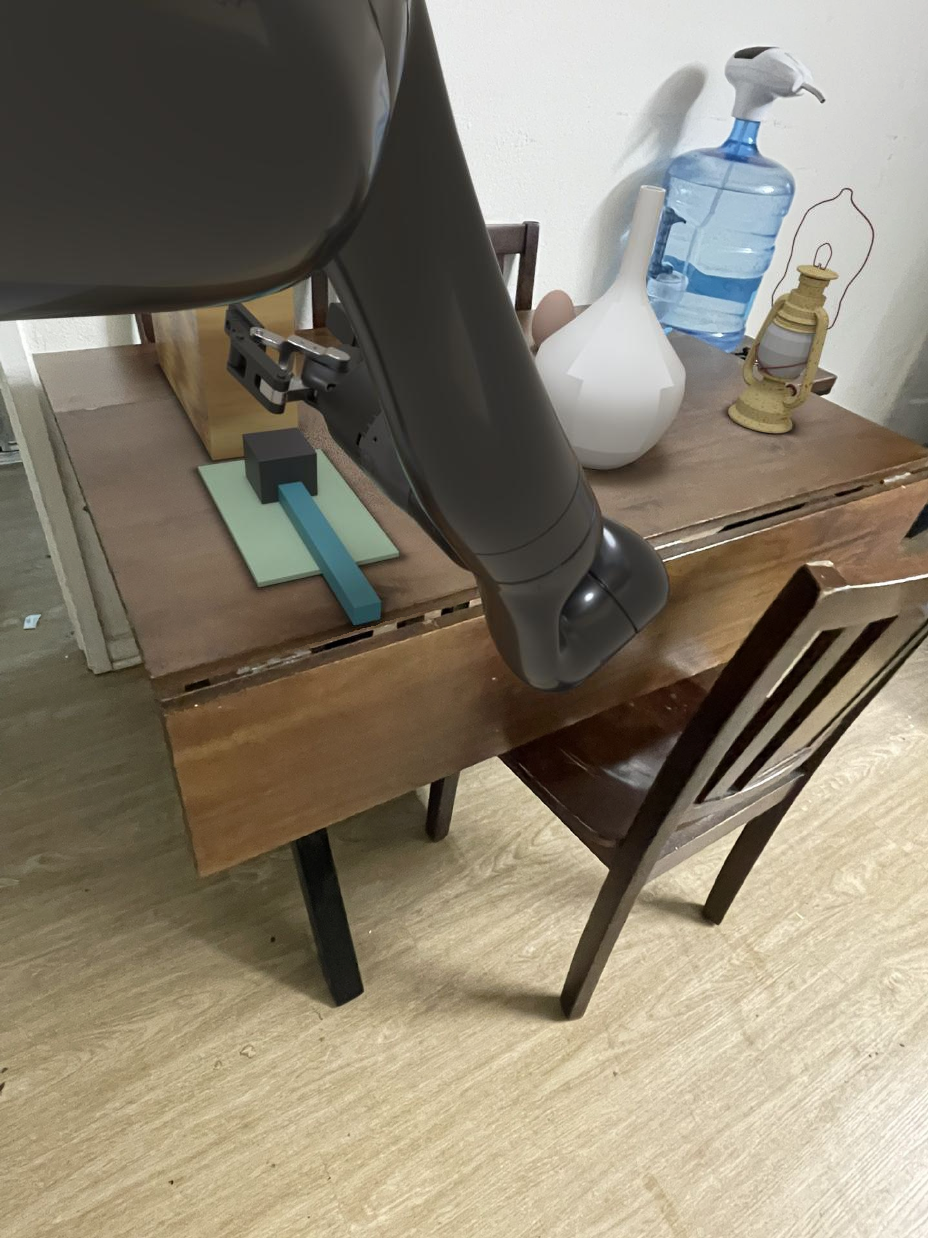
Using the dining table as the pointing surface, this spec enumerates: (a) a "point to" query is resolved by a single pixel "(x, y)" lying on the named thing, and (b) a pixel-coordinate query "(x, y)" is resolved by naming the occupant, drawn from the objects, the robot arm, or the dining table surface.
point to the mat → (273, 536)
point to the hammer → (307, 513)
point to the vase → (616, 360)
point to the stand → (221, 372)
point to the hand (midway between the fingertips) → (283, 313)
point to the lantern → (788, 348)
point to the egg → (551, 315)
